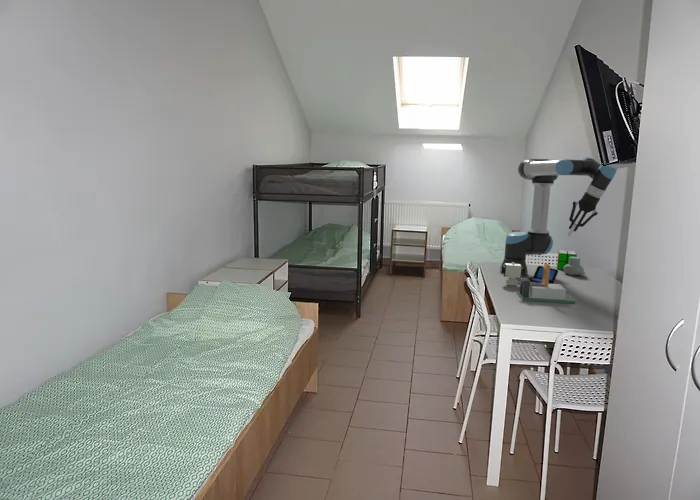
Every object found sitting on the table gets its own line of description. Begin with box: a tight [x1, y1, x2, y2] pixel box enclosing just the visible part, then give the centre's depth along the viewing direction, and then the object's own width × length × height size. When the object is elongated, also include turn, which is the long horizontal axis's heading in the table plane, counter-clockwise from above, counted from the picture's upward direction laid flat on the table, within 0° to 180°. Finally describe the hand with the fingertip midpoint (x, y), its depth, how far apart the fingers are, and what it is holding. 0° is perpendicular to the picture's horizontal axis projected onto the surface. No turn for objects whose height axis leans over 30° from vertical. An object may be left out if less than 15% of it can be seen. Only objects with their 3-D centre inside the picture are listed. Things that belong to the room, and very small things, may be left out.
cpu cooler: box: [516, 277, 576, 304], centre depth 259 cm, size 24×12×9 cm, turn 85°
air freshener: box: [562, 256, 585, 277], centre depth 313 cm, size 11×8×10 cm
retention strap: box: [515, 263, 551, 287], centre depth 258 cm, size 14×5×10 cm, turn 85°
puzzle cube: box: [556, 249, 578, 270], centre depth 329 cm, size 10×10×10 cm
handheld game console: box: [527, 265, 559, 284], centre depth 293 cm, size 12×11×7 cm
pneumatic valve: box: [499, 262, 525, 287], centre depth 283 cm, size 6×12×12 cm, turn 81°
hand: (568, 235), depth 275 cm, fingers closed
